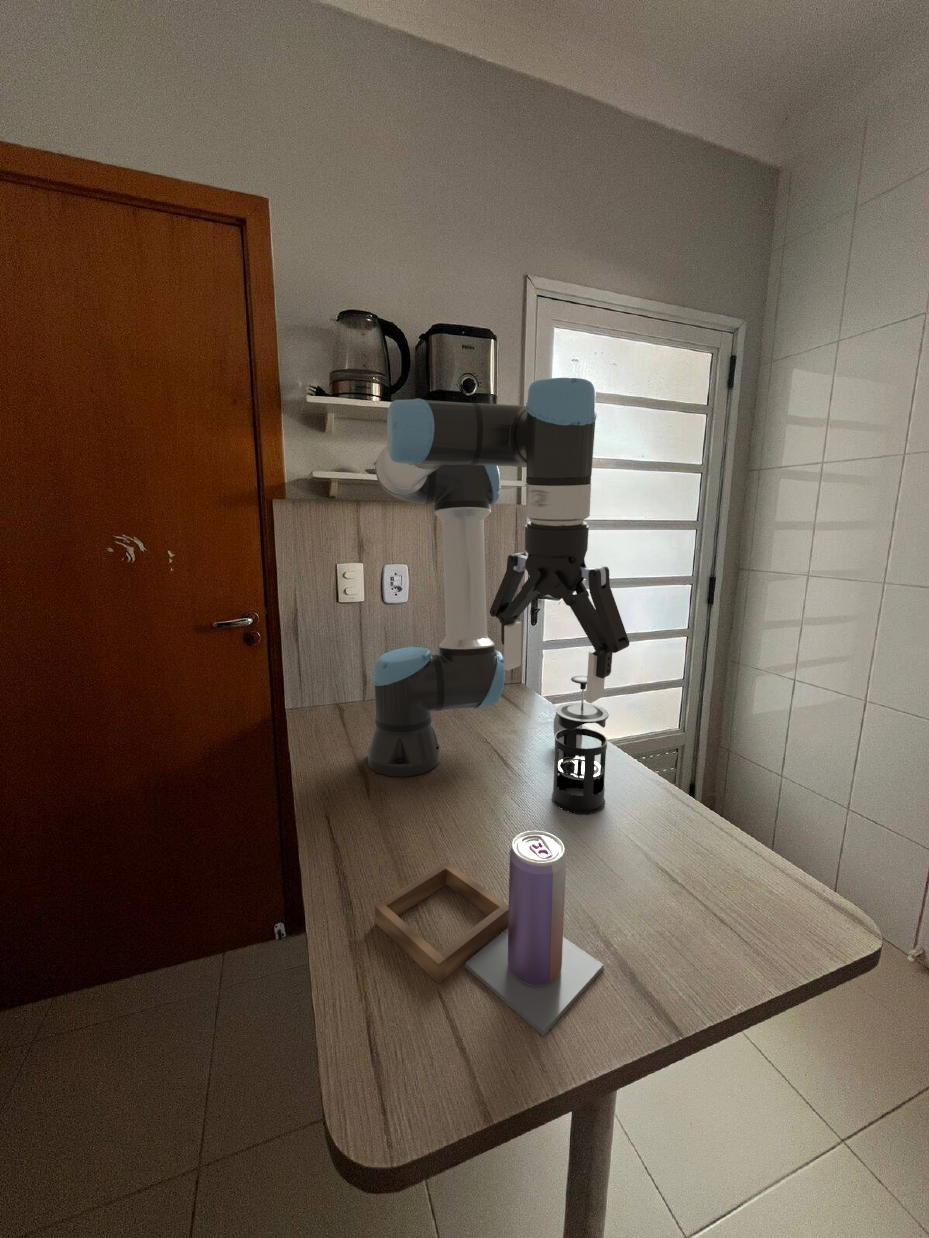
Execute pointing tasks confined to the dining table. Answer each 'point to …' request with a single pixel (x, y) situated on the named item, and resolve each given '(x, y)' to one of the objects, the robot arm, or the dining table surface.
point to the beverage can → (536, 907)
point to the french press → (579, 769)
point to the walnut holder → (463, 947)
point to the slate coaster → (530, 1001)
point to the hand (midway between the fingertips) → (550, 682)
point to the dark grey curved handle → (558, 728)
